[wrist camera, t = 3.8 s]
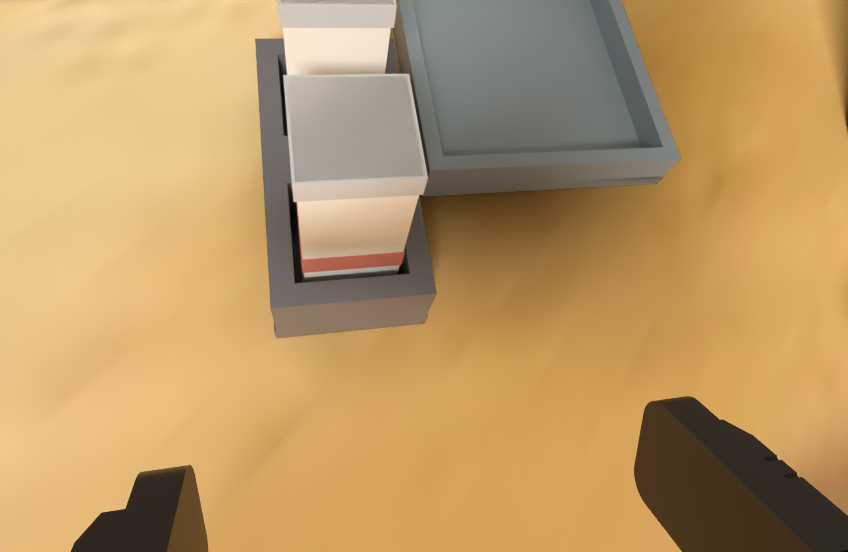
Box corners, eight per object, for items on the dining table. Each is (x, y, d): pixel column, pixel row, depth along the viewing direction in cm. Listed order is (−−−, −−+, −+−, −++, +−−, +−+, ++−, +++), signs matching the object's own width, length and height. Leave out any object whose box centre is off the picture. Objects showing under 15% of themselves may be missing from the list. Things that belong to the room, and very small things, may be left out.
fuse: (366, 98, 31) (382, -74, 22) (375, 163, 30) (396, 6, 21) (288, 100, 31) (271, -78, 21) (293, 167, 29) (277, 4, 20)
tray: (586, -16, 39) (602, -49, 37) (656, 183, 33) (680, 158, 31) (384, -21, 37) (388, -57, 34) (422, 196, 31) (430, 170, 28)
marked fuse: (383, 215, 29) (409, 73, 20) (394, 293, 27) (428, 178, 18) (297, 221, 28) (283, 75, 19) (304, 301, 26) (292, 185, 17)
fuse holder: (387, 91, 33) (394, 38, 29) (424, 323, 28) (438, 293, 24) (261, 94, 32) (253, 38, 28) (276, 338, 26) (268, 308, 23)
